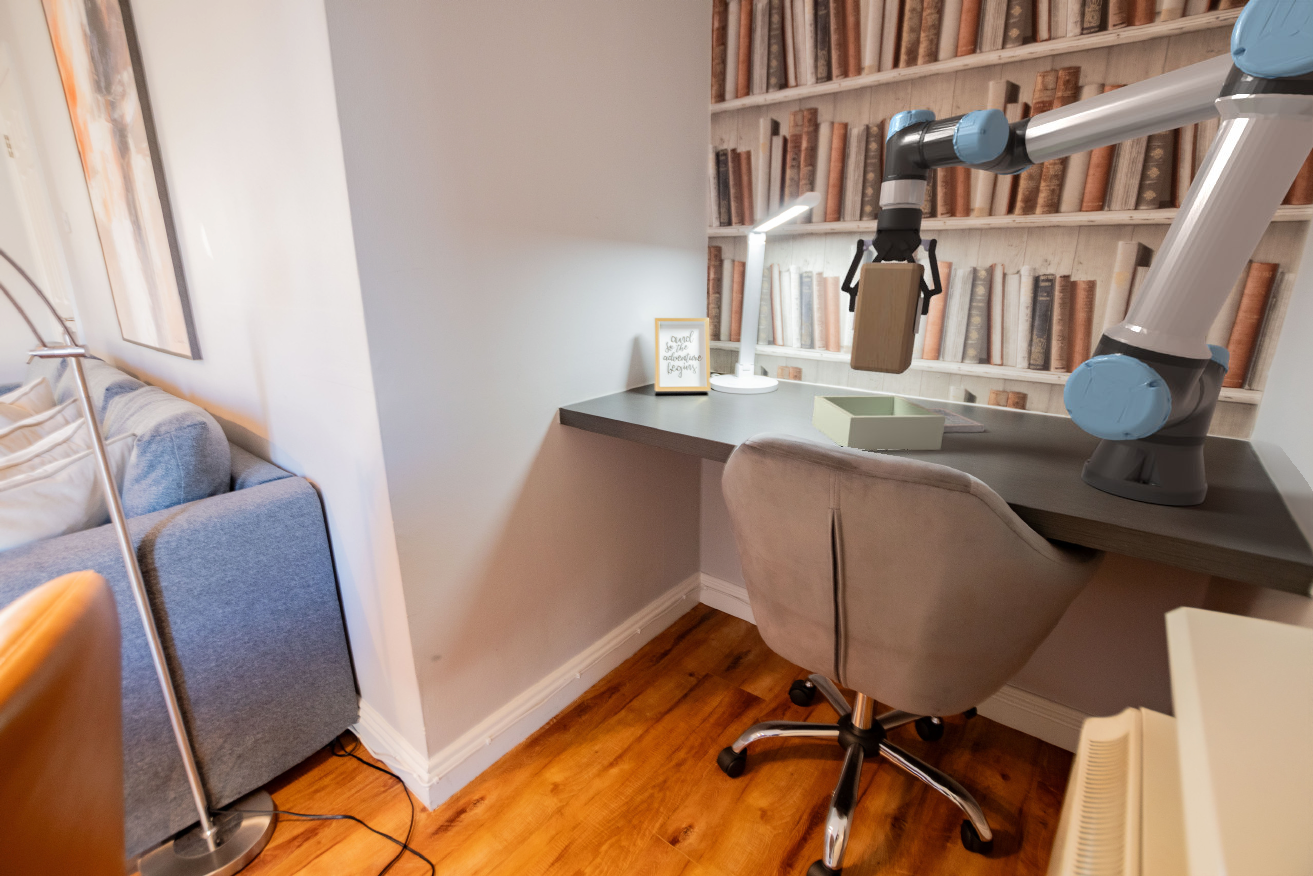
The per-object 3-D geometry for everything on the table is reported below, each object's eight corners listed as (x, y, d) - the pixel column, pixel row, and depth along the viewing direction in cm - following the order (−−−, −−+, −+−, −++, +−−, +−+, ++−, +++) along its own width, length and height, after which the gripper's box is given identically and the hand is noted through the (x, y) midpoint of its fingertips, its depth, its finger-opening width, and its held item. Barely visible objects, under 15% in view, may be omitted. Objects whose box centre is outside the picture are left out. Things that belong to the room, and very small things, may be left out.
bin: (940, 449, 108) (945, 416, 107) (846, 451, 107) (850, 417, 105) (892, 424, 126) (896, 395, 124) (812, 425, 124) (814, 395, 122)
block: (911, 368, 114) (926, 263, 108) (903, 375, 106) (919, 262, 100) (859, 363, 119) (871, 263, 113) (848, 370, 111) (860, 262, 105)
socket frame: (983, 432, 121) (984, 425, 120) (914, 432, 119) (915, 425, 119) (941, 414, 136) (942, 408, 135) (879, 414, 134) (880, 408, 134)
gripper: (970, 208, 103) (950, 332, 109) (838, 211, 112) (827, 326, 118) (973, 204, 96) (951, 336, 103) (832, 207, 105) (821, 329, 112)
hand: (885, 331), depth 110 cm, fingers closed on block, 10 cm apart
